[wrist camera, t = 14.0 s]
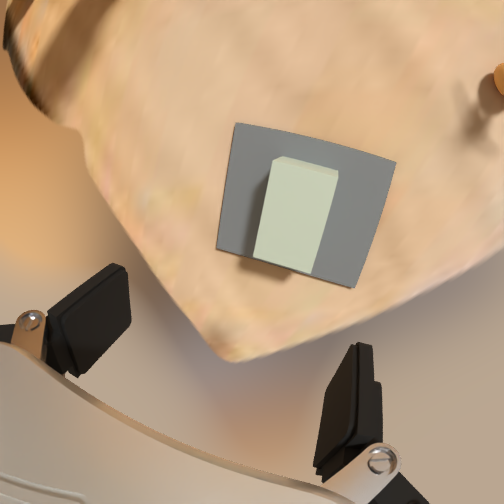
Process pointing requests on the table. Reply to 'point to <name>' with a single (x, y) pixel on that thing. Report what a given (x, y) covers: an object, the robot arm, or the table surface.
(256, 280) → the table surface
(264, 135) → the mat
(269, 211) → the card box
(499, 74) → the figurine
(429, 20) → the table surface
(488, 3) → the table surface
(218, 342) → the table surface
